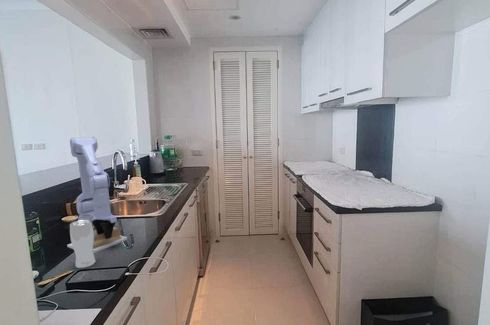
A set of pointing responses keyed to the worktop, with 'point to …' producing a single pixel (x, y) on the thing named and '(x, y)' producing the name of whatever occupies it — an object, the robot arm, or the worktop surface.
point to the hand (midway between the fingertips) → (105, 237)
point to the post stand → (106, 245)
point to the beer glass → (83, 242)
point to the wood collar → (102, 240)
